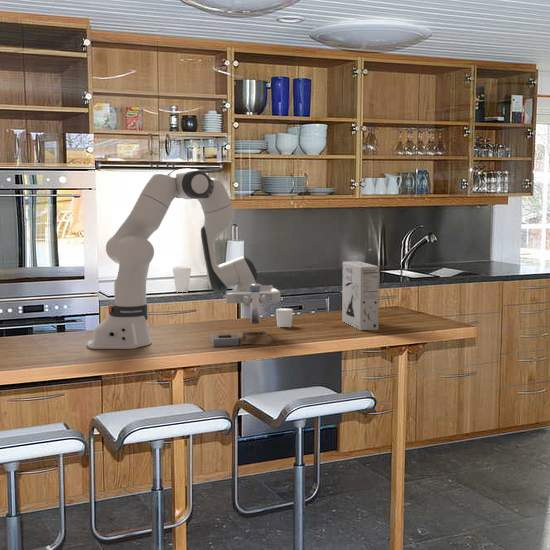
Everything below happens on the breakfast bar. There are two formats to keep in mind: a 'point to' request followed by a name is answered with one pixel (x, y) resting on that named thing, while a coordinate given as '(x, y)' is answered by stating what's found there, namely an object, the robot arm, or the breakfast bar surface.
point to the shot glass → (284, 317)
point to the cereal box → (360, 295)
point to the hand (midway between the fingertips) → (255, 299)
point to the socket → (225, 340)
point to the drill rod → (255, 303)
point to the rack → (255, 338)
